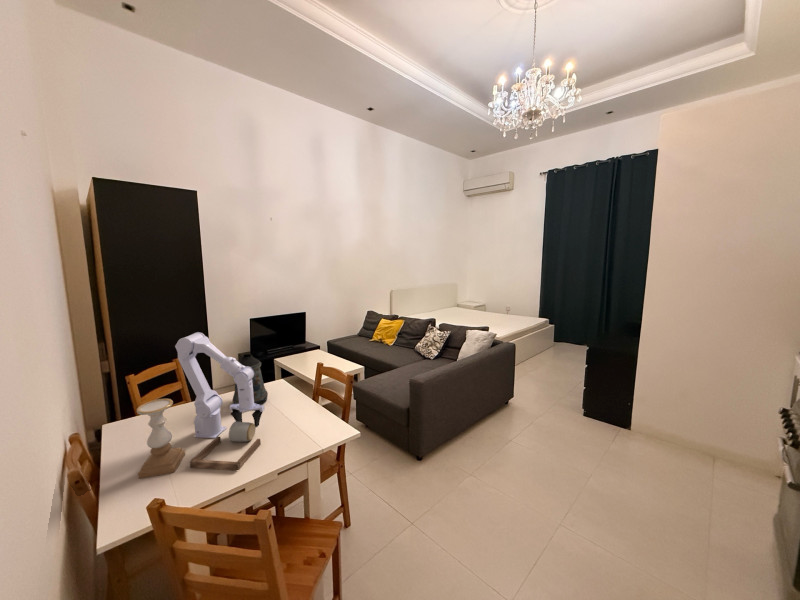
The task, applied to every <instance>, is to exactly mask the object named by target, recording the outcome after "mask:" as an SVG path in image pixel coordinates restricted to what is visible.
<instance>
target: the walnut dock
mask: <svg viewBox="0 0 800 600" xmlns="http://www.w3.org/2000/svg"><path fill="white" fill-rule="evenodd" d="M221 439H222V438H221V436H217V437H216V438H213V440H212V441H211V442H210V443H209V444H207V445H206V446H205V447H204V448H203V449H202V450H201V451H200V452H198V453H197V454H196V455H195V456H194V457H193V458H192V459H190V461H189V467H190V468H191V469H204V470H205V469H207V470H208V469H209V470H220V471H221V470H223V471H236V470H239V471H240V469H242V467H243V466H244V465H245V464H244V463H246V462H247V461H248V460H249V459H250V458H251V456H252V455H253V454H254V453H255V452H256V451H257V450H258V449H259V447H260V446H261V443H262V442H261V438H256V439H255V441H254V442H253V443H252V444H251V445H250V447H248V448H247V450H246V451H245V452H244V453H243V454H242V456H241V457H240V458H239V459H238V460H237V461H226V460H212V459H211V460H210V459H204V458H206V457H207V456H208V455H209V454H210V453H211V452H213V450H215V448H216V447H217V446H218V445H219V444H221V441H222V440H221Z"/></svg>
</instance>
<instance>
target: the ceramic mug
mask: <svg viewBox="0 0 800 600" xmlns="http://www.w3.org/2000/svg"><path fill="white" fill-rule="evenodd" d="M255 434H256V427H255V425H254V423H253V422H245V421H242V422H237V421H233V422H232V424H231V425H230V427H229V431H228V440H229V441H230V442H251V441H252V439H254V437H255Z"/></svg>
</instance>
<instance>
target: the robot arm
mask: <svg viewBox="0 0 800 600" xmlns="http://www.w3.org/2000/svg"><path fill="white" fill-rule="evenodd" d="M174 347H175V349H176V352H177V359H178V362H179V364H180V366H181V368H182V369H183V372H184V374H185V376H186V378H187V379H188V383H189V384H190V386H191V388H192V390H193V392H194V394H195V396H196V397H195V400H194V402H193V404H194V407H195V414H196V415H195V417H194V422H193V425H194V433H195V435H194V436H193V437H194V438H202V439H203V438H204V439H215V438H216V437H219V435H220V434H221V433H222V432H224V431H225V430H226V429H227V426H223V425H222V419H221V418H222V417H221V406H222V405H223V402H224V400H223V398H222V396H221V395H219V394H218V392H217V391H216V390H214V389H211V387H210V385H209V383H208V380H207V379H206V377H205V375H204V373H203V371H202V369H201V367H200V364H199V362H198V360H197V358H196V357H197V355H198V354H200V353H203V354H205V355H206V356H208V357H210V358H211V359H213V360H214V361H215V362H218V364H220V368H221V369H222V370H223V371H224V372H225V373H227V374H228V375H230V376H231V377H232V378H233V382H234V383H236V384H237V388H238V398H239V404H233V403H231V404H230V405H229V411H231V412H230V415H231V416H232V417H233V419H234V420H235V421H234V422H236V421H237V422H243V413H245V412H249V411H251V412H252V411H254V412H252V414H251V416H252V418H253V422H254V423H253V424H254V425H255V428H258V427H259V426H260V420H261V418H262V415H263V412H264V411H265V404H263V405H259V404H255V403H254V396H253V383H252V378H253V377H254V371H253V369H252V368H251V367H248V366H247V367H246V366H244V365H242V364H240V363H239V362H238V361H239V360H238V361H237V358H236V357H232V356H226V354H224V353H223V352H222V351H221V350H220V349H218V347H216V346H215V345H214V344H213V343H212V342H211V341H210V338H209V337H208V336H206V335H205V334H204V333H203V332H199V331H197V332H194V333H192V334H190V335H188V336H185V337H182V338H179V339H178V341H177V343H176V344H175V345H174Z"/></svg>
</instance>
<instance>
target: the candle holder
mask: <svg viewBox="0 0 800 600" xmlns="http://www.w3.org/2000/svg"><path fill="white" fill-rule="evenodd" d="M173 404H174V401H173V400H172V399H171V398H158V399H154V400H151V401H146V402H145V403H142V404H141V405H139V406H138V407H137V408H136V413H137V414H138V415H142V416H148V417H149V418H150V419H149V421H148V423H147V426H149V427H150V428H151V429H152V430H151V432H150V434H149V435H148V438H147V440H146V445H147V447H148V448H150V452H149V453H150V455H149V456H148V458H147V459H146V460H145V461H144V463H143V464H142V466H141V468H140V470H139V472H138V473H137V476H138V479H145V478H151V477H157V476H161V475H169V474H172V473H175V472H176V470H177V469H178V468H179V466H180V464H181V463H182V461H183V459H184V457H185V455H186V450H185V449H182V447H176V448H172V444H171V443H170V442H171V441H172V439H173V434H172V432H171V431H169V430H168V429H167V428H166V427H165V424H166V421H167V418H166V417H164V412H165V411H167V410H168V409H169V408H171V407H172V406H173Z"/></svg>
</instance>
